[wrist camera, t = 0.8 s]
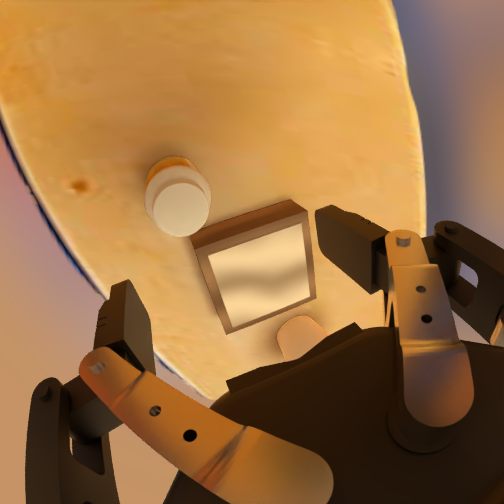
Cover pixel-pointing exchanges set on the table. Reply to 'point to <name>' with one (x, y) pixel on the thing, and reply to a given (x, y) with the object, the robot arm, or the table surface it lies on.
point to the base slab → (257, 264)
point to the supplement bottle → (177, 196)
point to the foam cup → (299, 337)
